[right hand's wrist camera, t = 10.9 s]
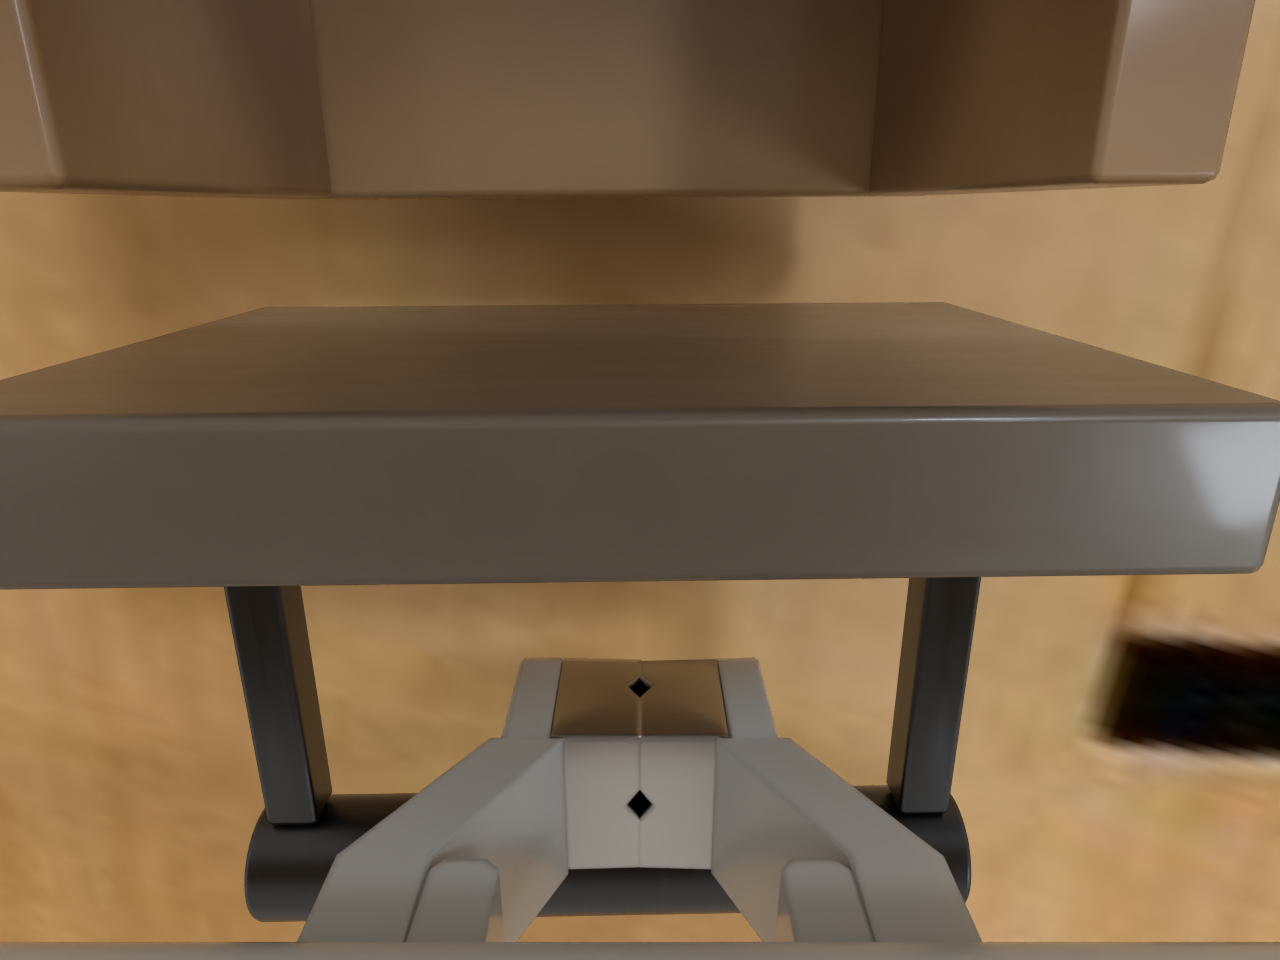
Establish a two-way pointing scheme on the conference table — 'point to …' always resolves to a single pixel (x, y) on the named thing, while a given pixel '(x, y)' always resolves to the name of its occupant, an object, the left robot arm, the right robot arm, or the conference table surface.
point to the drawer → (614, 342)
